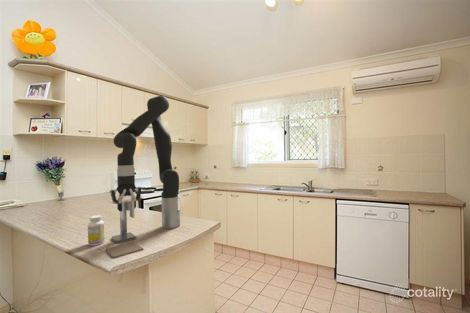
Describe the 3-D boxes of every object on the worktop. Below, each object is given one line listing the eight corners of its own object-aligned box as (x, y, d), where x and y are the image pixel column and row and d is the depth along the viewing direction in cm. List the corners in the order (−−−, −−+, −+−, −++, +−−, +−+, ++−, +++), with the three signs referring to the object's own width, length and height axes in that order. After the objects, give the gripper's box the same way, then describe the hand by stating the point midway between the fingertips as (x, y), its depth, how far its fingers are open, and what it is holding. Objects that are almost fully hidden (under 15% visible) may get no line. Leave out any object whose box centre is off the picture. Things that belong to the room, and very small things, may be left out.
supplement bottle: (98, 240, 112) (97, 214, 112) (107, 241, 110) (107, 215, 110) (84, 245, 106) (84, 217, 106) (94, 247, 104) (93, 218, 104)
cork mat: (134, 242, 108) (134, 241, 108) (143, 249, 99) (143, 248, 99) (105, 249, 100) (105, 248, 100) (112, 258, 91) (112, 256, 91)
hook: (131, 216, 112) (131, 199, 112) (134, 217, 109) (134, 200, 109) (120, 218, 109) (119, 201, 109) (122, 220, 106) (122, 202, 106)
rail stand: (130, 234, 120) (129, 196, 120) (140, 242, 108) (139, 200, 108) (111, 238, 114) (110, 199, 114) (120, 247, 102) (119, 203, 102)
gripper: (138, 173, 117) (139, 206, 117) (107, 175, 107) (108, 211, 107) (144, 174, 111) (145, 208, 111) (111, 176, 101) (112, 214, 101)
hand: (127, 209), depth 109 cm, fingers closed on hook, 5 cm apart
